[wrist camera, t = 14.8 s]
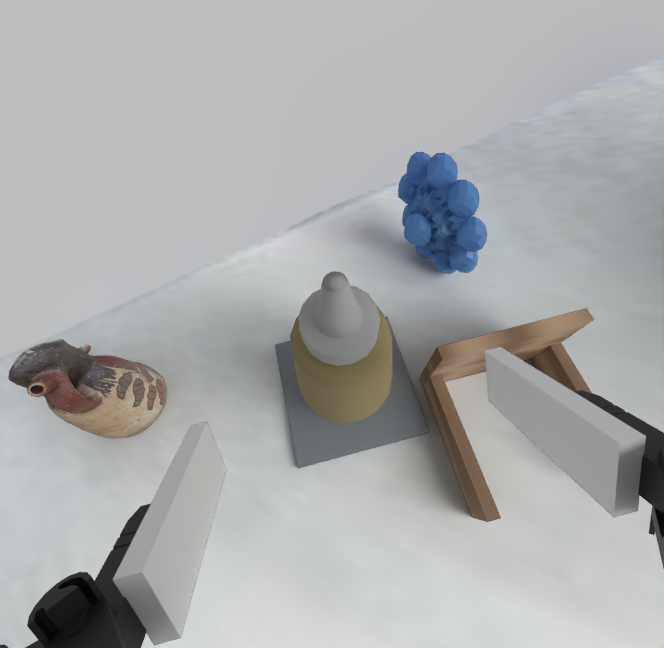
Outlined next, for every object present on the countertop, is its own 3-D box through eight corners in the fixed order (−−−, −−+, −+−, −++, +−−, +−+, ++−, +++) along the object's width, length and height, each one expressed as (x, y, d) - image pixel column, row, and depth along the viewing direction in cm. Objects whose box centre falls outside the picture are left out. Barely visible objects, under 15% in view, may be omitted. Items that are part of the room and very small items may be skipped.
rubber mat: (386, 318, 35) (386, 316, 34) (428, 432, 29) (429, 432, 29) (276, 346, 34) (275, 344, 34) (298, 468, 29) (297, 467, 28)
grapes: (367, 240, 39) (371, 149, 29) (411, 214, 41) (431, 118, 30) (431, 309, 35) (464, 231, 24) (479, 278, 36) (530, 191, 25)
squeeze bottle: (287, 384, 32) (215, 280, 16) (348, 332, 34) (340, 192, 18) (343, 450, 29) (326, 406, 13) (406, 388, 31) (461, 283, 15)
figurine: (155, 355, 35) (64, 297, 24) (178, 412, 32) (87, 376, 21) (89, 391, 33) (-38, 348, 23) (107, 454, 31) (-29, 439, 20)
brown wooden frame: (535, 347, 32) (586, 308, 25) (610, 477, 27) (702, 475, 20) (419, 378, 32) (437, 347, 24) (472, 517, 26) (515, 529, 19)
